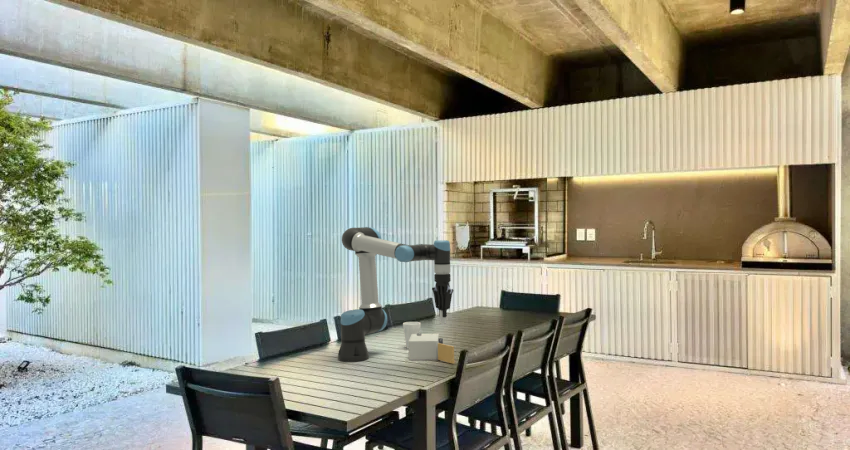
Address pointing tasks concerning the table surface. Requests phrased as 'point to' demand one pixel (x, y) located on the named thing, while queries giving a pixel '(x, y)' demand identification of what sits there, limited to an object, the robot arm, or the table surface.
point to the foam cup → (410, 330)
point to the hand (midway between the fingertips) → (442, 323)
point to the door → (445, 352)
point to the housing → (423, 346)
